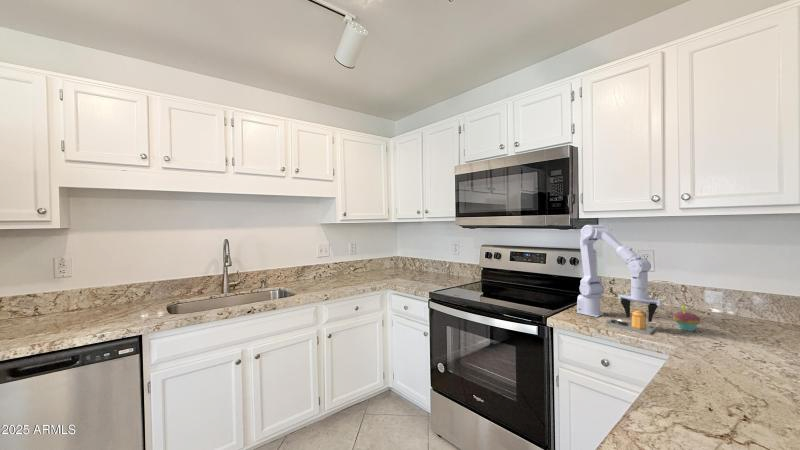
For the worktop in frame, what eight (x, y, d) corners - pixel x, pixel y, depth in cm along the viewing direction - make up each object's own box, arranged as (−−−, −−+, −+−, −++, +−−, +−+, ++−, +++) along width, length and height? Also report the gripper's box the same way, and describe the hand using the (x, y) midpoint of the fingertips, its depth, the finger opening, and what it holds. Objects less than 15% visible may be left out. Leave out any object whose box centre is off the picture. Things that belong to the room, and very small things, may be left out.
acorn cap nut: (630, 326, 136) (630, 310, 136) (634, 323, 139) (634, 308, 139) (643, 328, 132) (643, 313, 132) (647, 326, 135) (647, 311, 135)
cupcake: (690, 333, 129) (690, 304, 129) (667, 327, 137) (668, 299, 137) (705, 331, 131) (705, 302, 131) (682, 325, 140) (682, 297, 139)
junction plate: (605, 324, 141) (605, 315, 141) (612, 320, 147) (612, 311, 147) (650, 334, 129) (650, 324, 129) (656, 329, 134) (656, 320, 134)
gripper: (663, 288, 132) (662, 321, 132) (622, 283, 143) (622, 313, 144) (658, 291, 128) (658, 324, 128) (616, 285, 139) (616, 316, 139)
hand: (638, 319), depth 136 cm, fingers open, 7 cm apart
